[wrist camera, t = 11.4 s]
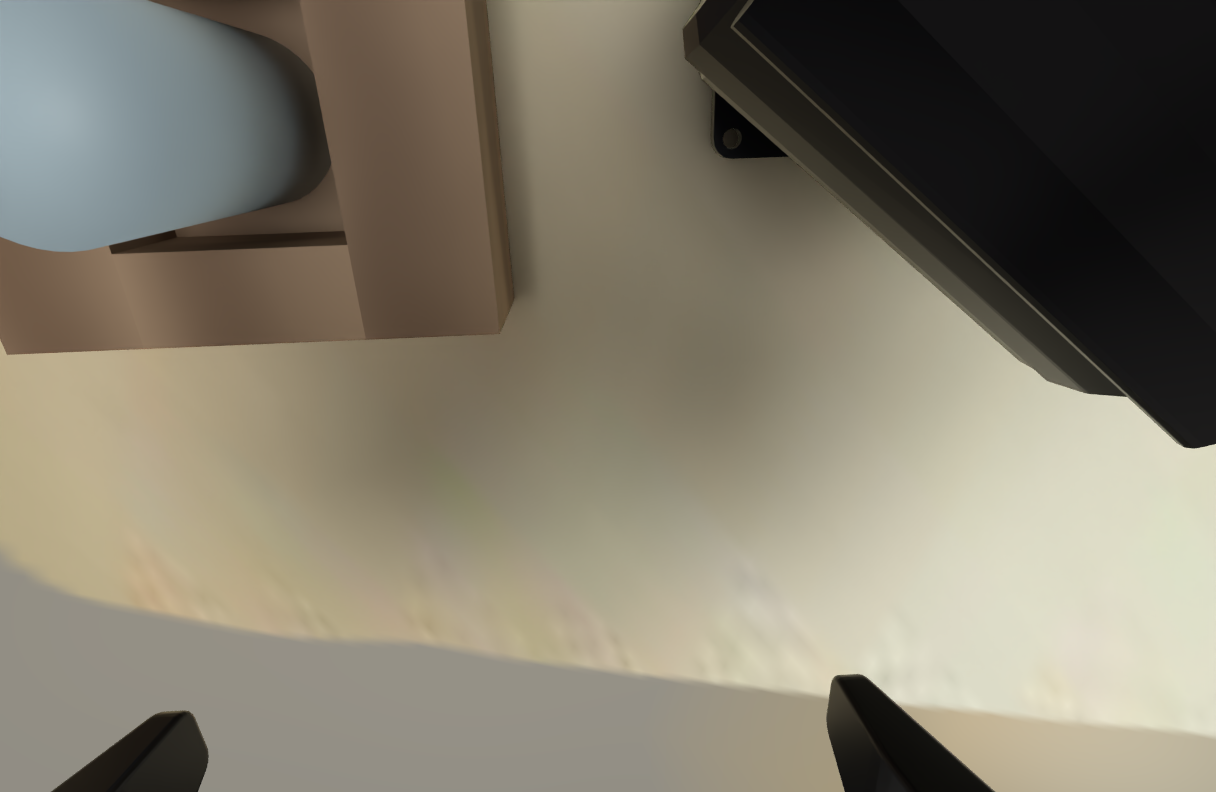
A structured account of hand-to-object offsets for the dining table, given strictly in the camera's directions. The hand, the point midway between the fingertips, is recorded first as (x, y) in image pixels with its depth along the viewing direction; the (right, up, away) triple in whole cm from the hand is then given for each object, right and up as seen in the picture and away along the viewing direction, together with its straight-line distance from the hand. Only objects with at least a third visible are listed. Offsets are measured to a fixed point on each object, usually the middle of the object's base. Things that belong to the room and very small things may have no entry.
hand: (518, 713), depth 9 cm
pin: (-8, +11, +7) cm, 15 cm away
